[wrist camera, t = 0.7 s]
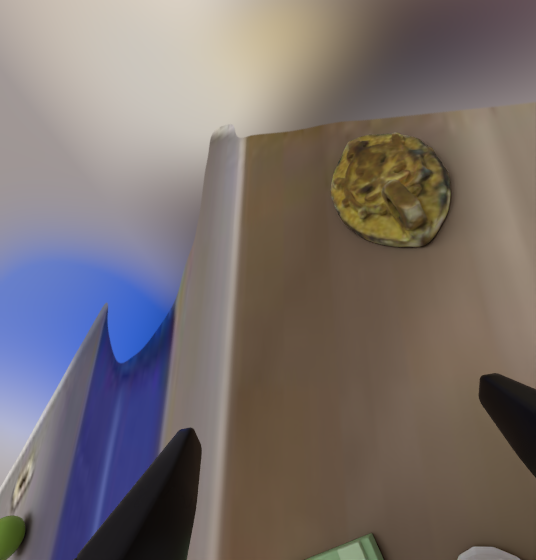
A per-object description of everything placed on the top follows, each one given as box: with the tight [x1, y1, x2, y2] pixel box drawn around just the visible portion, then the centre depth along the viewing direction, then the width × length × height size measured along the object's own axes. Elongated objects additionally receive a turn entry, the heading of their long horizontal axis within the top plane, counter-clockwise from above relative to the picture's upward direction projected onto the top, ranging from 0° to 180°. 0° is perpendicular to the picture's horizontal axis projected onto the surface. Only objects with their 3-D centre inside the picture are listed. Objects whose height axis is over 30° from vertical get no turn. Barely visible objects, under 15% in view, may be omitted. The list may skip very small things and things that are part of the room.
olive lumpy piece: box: [331, 133, 451, 247], centre depth 24 cm, size 9×5×15 cm
